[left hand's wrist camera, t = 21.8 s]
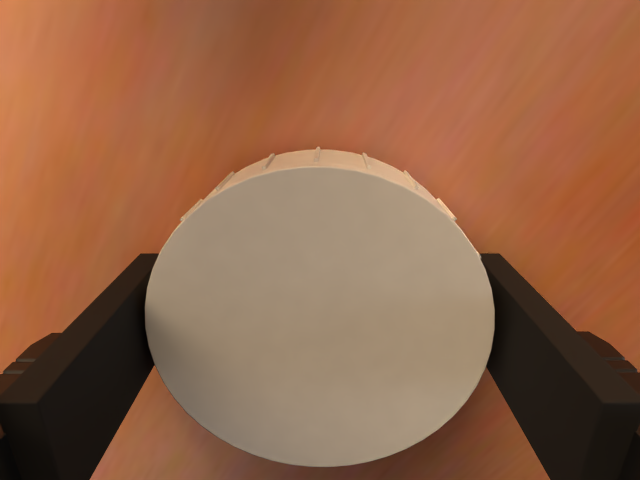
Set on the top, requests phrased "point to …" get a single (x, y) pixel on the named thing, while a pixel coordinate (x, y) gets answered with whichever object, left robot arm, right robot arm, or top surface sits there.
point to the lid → (320, 310)
